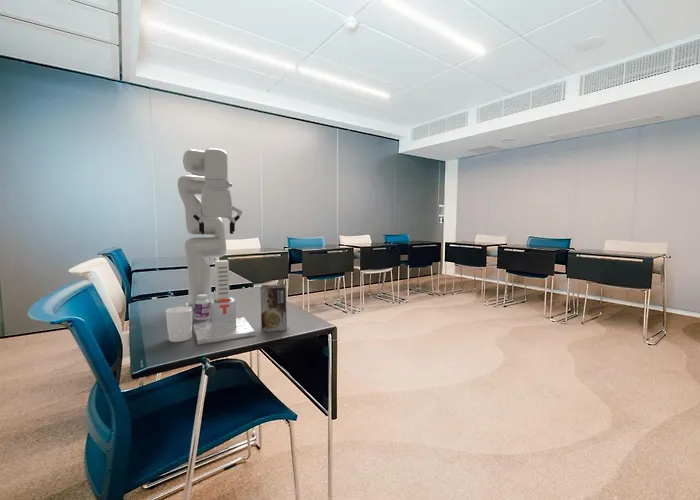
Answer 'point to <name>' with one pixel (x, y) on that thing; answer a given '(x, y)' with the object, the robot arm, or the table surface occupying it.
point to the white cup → (179, 323)
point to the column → (222, 279)
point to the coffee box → (273, 307)
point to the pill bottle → (202, 307)
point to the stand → (222, 323)
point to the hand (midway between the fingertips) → (217, 233)
